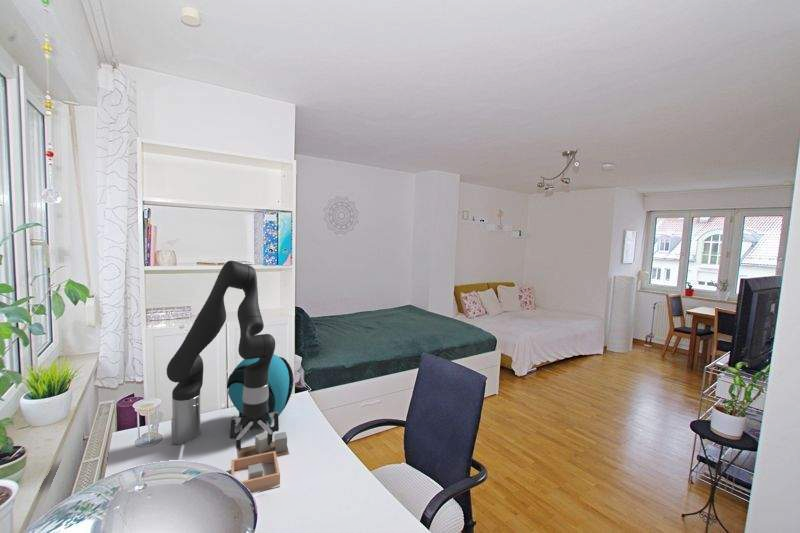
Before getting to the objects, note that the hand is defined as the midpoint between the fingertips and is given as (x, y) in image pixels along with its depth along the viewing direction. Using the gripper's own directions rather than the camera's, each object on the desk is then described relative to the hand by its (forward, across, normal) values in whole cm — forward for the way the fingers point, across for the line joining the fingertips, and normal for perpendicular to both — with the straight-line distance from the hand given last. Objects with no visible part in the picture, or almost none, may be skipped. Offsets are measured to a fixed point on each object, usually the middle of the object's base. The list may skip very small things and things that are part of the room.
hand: (254, 446), depth 113 cm
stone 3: (+12, -10, -15) cm, 22 cm away
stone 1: (+12, -1, 0) cm, 13 cm away
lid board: (+13, -4, -16) cm, 21 cm away
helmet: (+14, -5, -39) cm, 41 cm away
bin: (+13, -1, -3) cm, 14 cm away
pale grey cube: (+12, -4, -17) cm, 21 cm away
